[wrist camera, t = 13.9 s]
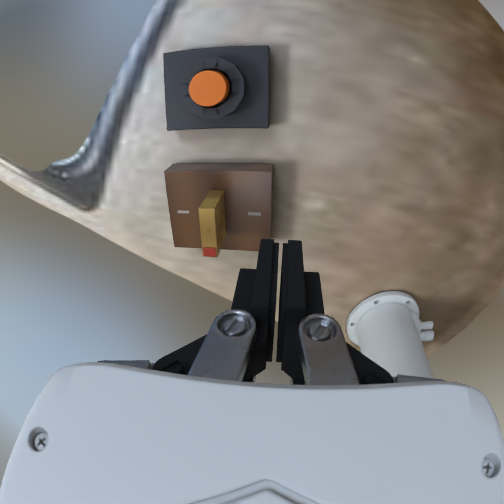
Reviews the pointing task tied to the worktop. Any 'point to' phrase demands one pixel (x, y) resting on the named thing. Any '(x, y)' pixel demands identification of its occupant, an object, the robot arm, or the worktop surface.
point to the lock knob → (212, 223)
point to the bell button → (208, 88)
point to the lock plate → (235, 198)
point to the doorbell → (240, 92)
